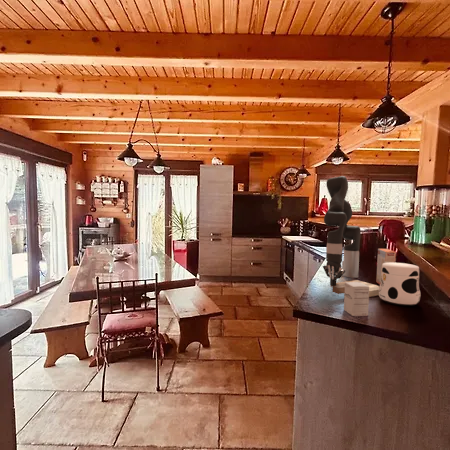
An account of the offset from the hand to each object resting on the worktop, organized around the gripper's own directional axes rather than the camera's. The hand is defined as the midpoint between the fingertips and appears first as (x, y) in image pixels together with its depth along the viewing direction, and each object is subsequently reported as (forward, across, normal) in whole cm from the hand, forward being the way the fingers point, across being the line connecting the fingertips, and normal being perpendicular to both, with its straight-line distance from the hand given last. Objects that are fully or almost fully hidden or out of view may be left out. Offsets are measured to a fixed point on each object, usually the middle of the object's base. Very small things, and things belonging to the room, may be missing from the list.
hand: (333, 286), depth 151 cm
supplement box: (+6, +21, -8) cm, 23 cm away
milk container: (+6, +19, +23) cm, 30 cm away
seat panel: (+6, -2, +22) cm, 23 cm away
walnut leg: (+2, +4, +6) cm, 7 cm away
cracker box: (+6, -5, +46) cm, 47 cm away
